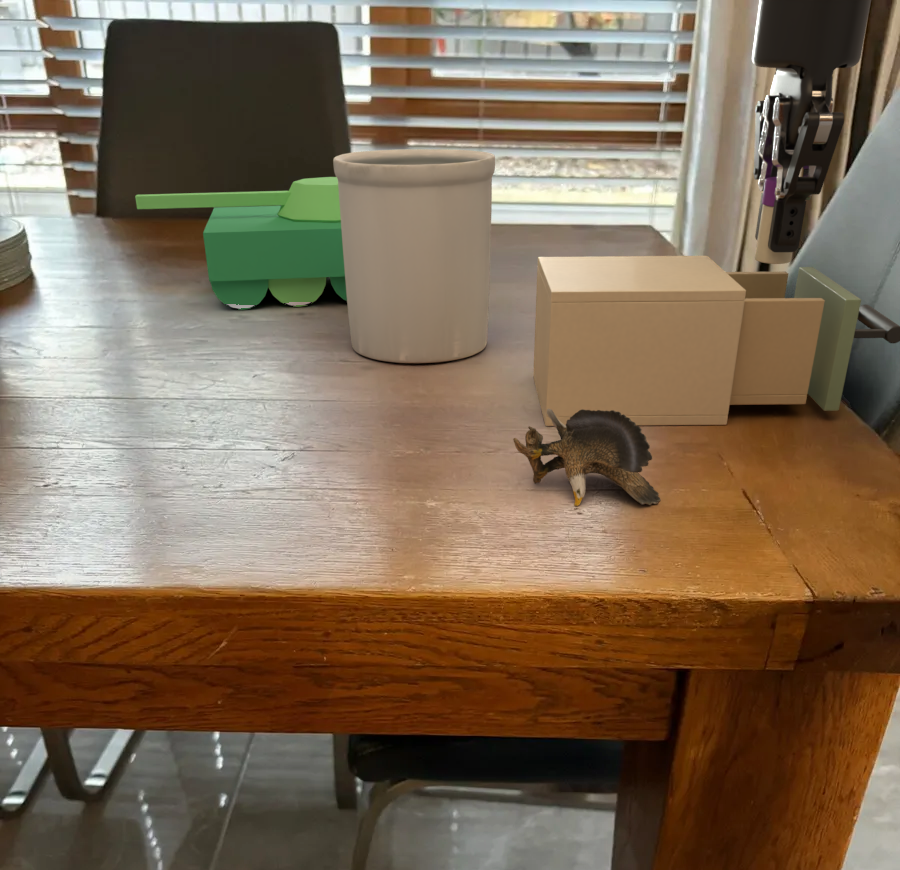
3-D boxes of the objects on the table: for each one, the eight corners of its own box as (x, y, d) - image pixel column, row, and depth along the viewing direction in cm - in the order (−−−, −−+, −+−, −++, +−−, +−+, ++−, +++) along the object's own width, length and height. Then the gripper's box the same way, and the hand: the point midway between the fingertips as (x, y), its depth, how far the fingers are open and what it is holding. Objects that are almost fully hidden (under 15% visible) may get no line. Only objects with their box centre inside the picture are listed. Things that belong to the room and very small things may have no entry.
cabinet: (692, 375, 89) (707, 255, 84) (726, 424, 78) (746, 290, 73) (533, 377, 89) (537, 256, 84) (545, 426, 78) (551, 291, 73)
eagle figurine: (511, 500, 64) (651, 493, 60) (511, 392, 64) (650, 379, 61) (541, 517, 71) (667, 511, 68) (541, 420, 71) (666, 410, 68)
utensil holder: (345, 327, 104) (333, 147, 95) (483, 322, 105) (485, 144, 96) (344, 369, 92) (331, 166, 83) (501, 364, 93) (505, 163, 84)
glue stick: (785, 256, 79) (799, 176, 76) (797, 264, 77) (811, 182, 74) (748, 256, 79) (760, 176, 76) (758, 264, 77) (771, 182, 74)
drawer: (849, 367, 88) (870, 266, 84) (899, 410, 78) (926, 299, 74) (646, 368, 88) (655, 268, 84) (671, 412, 78) (683, 300, 74)
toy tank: (144, 176, 118) (432, 169, 122) (160, 281, 124) (433, 271, 128) (122, 197, 102) (452, 188, 106) (141, 316, 109) (452, 303, 113)
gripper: (910, -13, 63) (854, 265, 71) (835, -8, 75) (795, 230, 83) (793, -13, 63) (752, 266, 71) (737, -7, 75) (707, 230, 83)
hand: (775, 245), depth 77 cm, fingers closed on glue stick, 3 cm apart
